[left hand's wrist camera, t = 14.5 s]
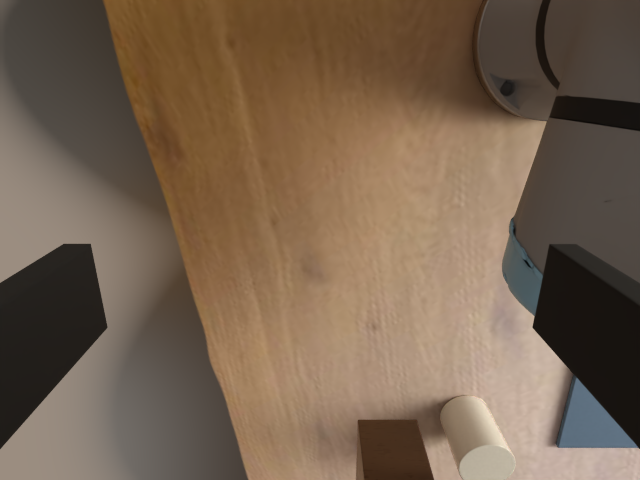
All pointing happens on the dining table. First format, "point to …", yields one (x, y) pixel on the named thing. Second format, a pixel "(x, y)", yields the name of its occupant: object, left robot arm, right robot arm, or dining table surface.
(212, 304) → the dining table surface
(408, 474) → the walnut beam
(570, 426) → the felt mat
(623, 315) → the left robot arm
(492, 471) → the white canister
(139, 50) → the dining table surface
